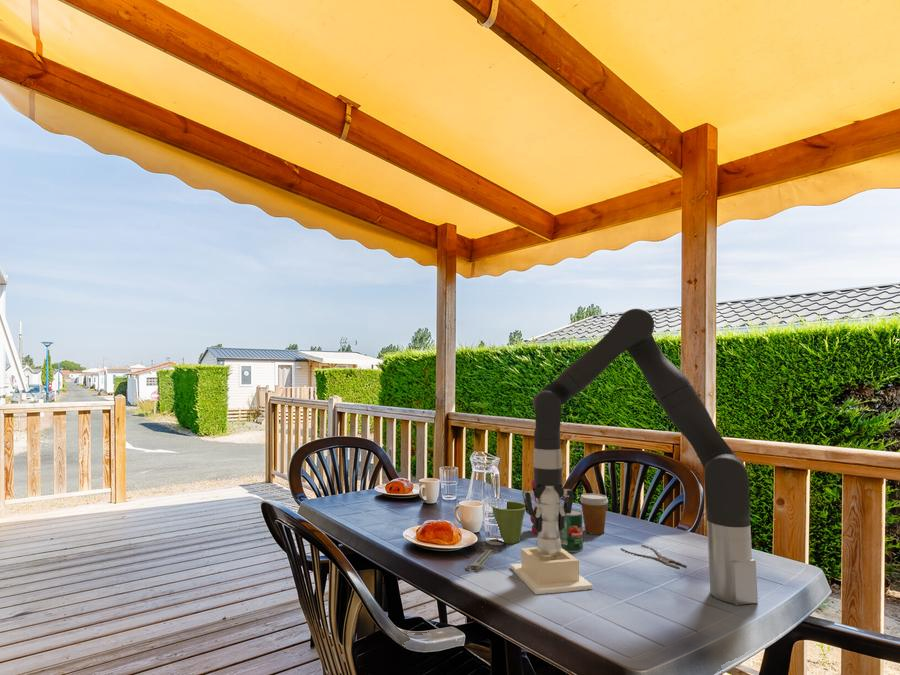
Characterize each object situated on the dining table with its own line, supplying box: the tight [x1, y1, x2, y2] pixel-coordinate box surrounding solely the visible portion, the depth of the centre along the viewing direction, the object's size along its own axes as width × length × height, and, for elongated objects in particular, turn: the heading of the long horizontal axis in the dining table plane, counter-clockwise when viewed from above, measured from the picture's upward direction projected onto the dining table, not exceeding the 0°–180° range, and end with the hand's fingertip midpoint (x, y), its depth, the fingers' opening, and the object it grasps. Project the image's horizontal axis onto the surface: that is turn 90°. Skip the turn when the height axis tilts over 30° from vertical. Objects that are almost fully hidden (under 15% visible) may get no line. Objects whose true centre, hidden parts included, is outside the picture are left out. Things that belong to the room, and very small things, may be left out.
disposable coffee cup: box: [579, 493, 609, 535], centre depth 172 cm, size 10×10×12 cm
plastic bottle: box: [535, 486, 561, 557], centre depth 132 cm, size 6×7×20 cm
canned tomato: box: [559, 508, 584, 553], centre depth 154 cm, size 8×8×11 cm
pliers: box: [620, 544, 688, 570], centre depth 147 cm, size 10×1×20 cm
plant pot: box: [490, 500, 526, 545], centre depth 162 cm, size 12×12×11 cm
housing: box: [510, 546, 593, 595], centre depth 130 cm, size 18×15×6 cm
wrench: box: [466, 545, 499, 573], centre depth 144 cm, size 5×20×1 cm, turn 159°
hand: (548, 530), depth 131 cm, fingers closed on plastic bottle, 5 cm apart
